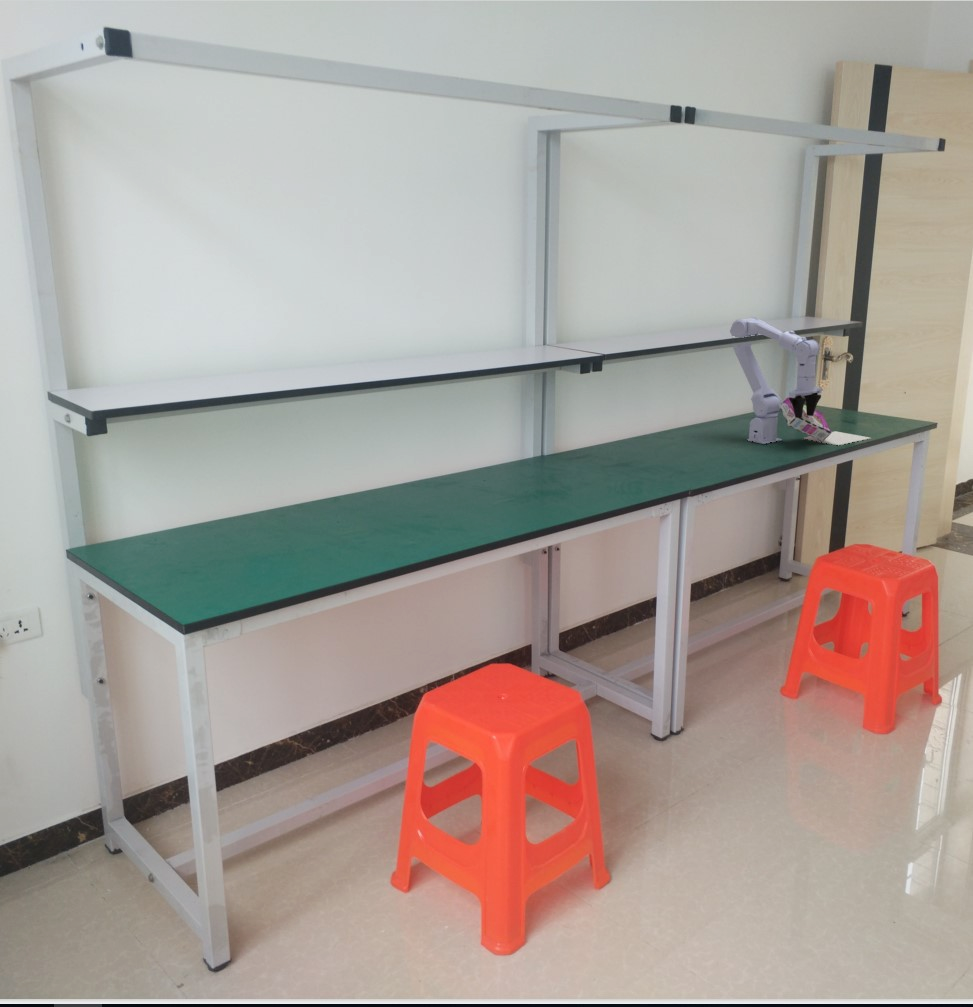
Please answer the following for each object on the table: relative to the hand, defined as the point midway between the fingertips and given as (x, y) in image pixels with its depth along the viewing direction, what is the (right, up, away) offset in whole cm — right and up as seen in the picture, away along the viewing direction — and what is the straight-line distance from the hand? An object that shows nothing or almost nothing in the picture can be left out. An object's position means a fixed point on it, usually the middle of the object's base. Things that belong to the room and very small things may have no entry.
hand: (804, 416), depth 329 cm
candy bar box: (+10, -3, +11) cm, 15 cm away
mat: (+16, -7, +14) cm, 22 cm away
